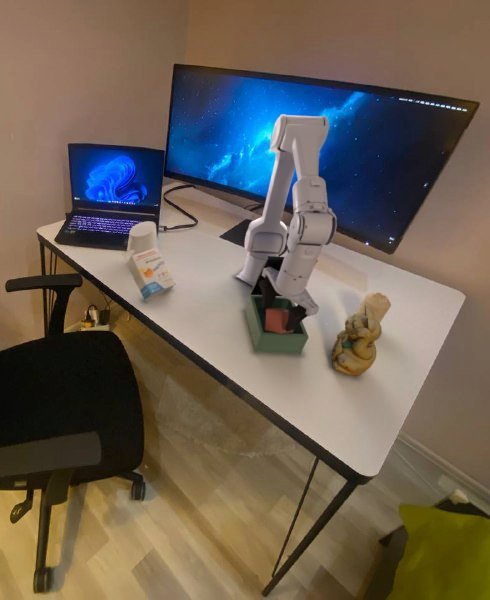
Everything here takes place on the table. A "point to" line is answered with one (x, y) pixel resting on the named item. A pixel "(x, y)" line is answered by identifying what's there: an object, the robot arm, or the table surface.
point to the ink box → (149, 272)
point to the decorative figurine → (356, 344)
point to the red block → (277, 320)
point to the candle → (375, 305)
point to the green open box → (269, 339)
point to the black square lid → (270, 262)
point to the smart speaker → (142, 237)
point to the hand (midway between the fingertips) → (277, 318)
